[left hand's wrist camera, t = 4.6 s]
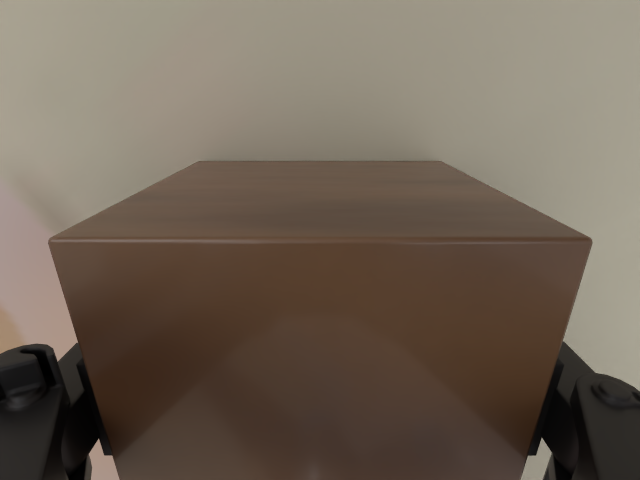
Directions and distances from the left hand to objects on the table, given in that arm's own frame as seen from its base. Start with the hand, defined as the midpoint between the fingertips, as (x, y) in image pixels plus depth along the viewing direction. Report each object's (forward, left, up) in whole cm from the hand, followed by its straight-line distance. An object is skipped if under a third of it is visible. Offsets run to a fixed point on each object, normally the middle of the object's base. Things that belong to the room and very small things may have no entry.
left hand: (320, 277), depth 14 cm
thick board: (+22, -5, 0) cm, 23 cm away
